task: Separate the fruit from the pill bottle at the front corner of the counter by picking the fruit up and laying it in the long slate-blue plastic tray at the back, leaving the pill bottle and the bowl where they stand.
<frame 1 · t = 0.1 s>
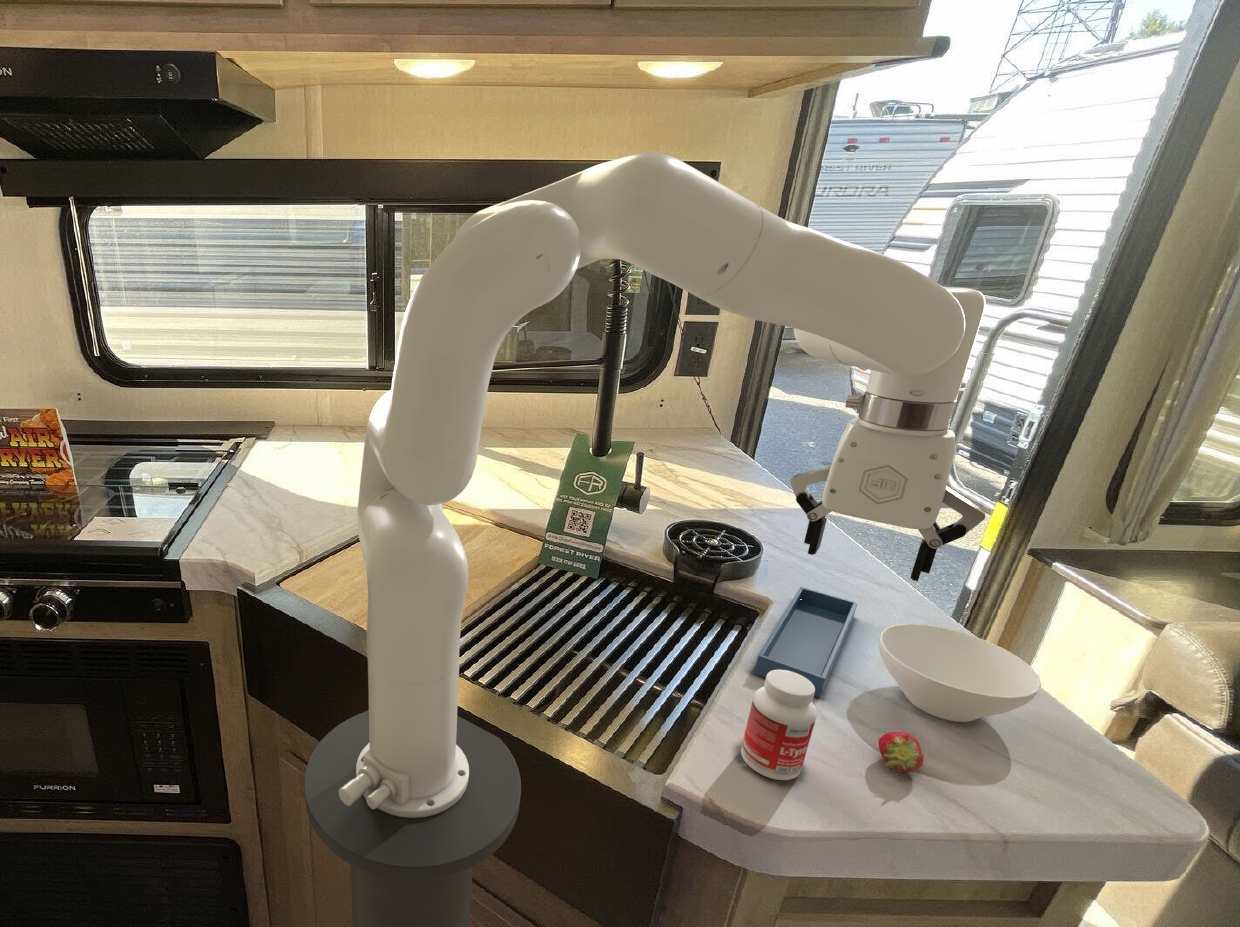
hand: (862, 563, 74), 22 cm above the worktop, tool pointing down, fingers open, 9 cm apart
bowl: (939, 704, 85), on the worktop
pill bottle: (769, 763, 75), on the worktop
fruit: (895, 766, 75), on the worktop
tray: (806, 644, 98), on the worktop
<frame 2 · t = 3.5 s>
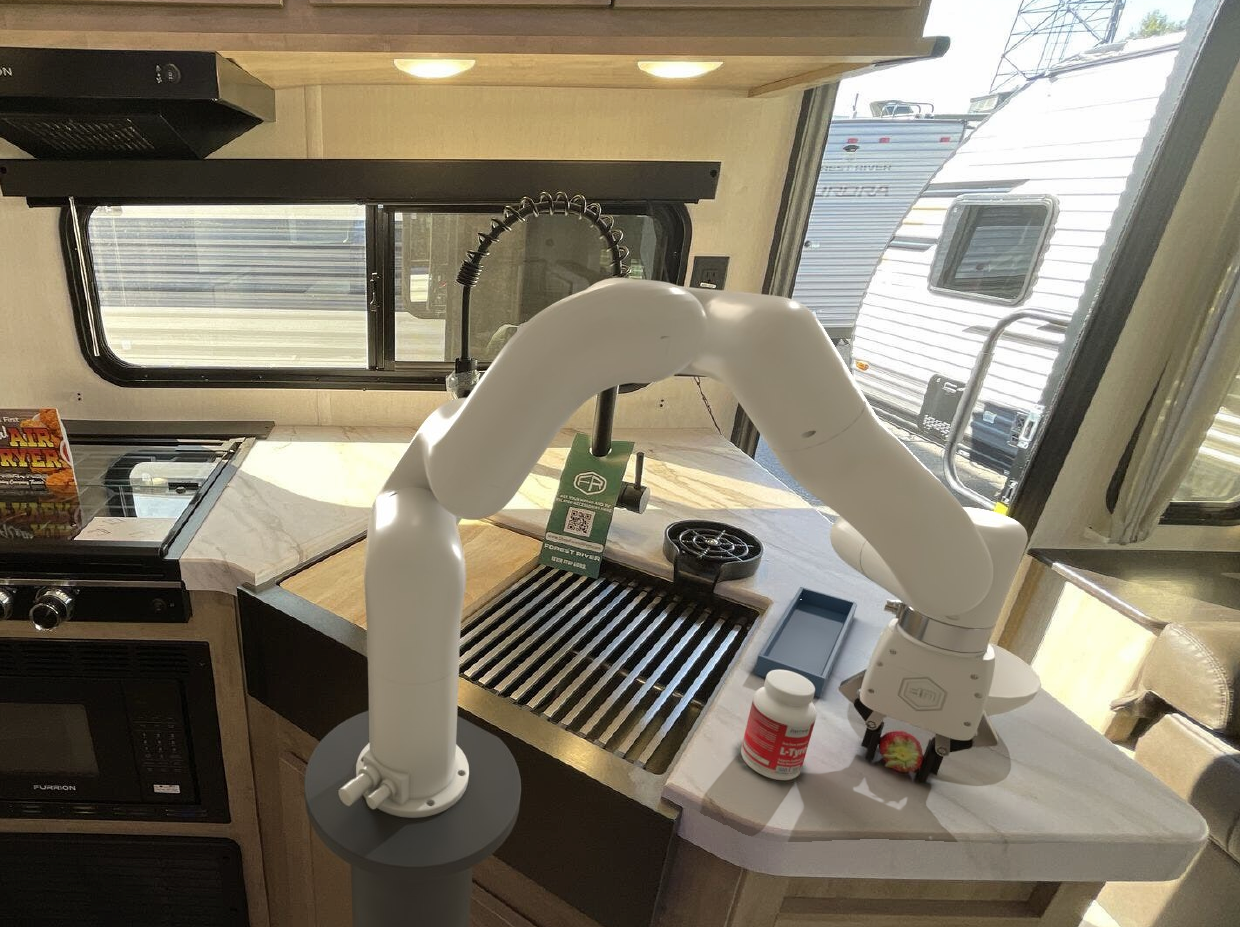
hand: (896, 762, 75), 0 cm above the worktop, tool pointing down, fingers closed on fruit, 4 cm apart
fruit: (895, 766, 75), on the worktop, touching gripper
everything else where it was.
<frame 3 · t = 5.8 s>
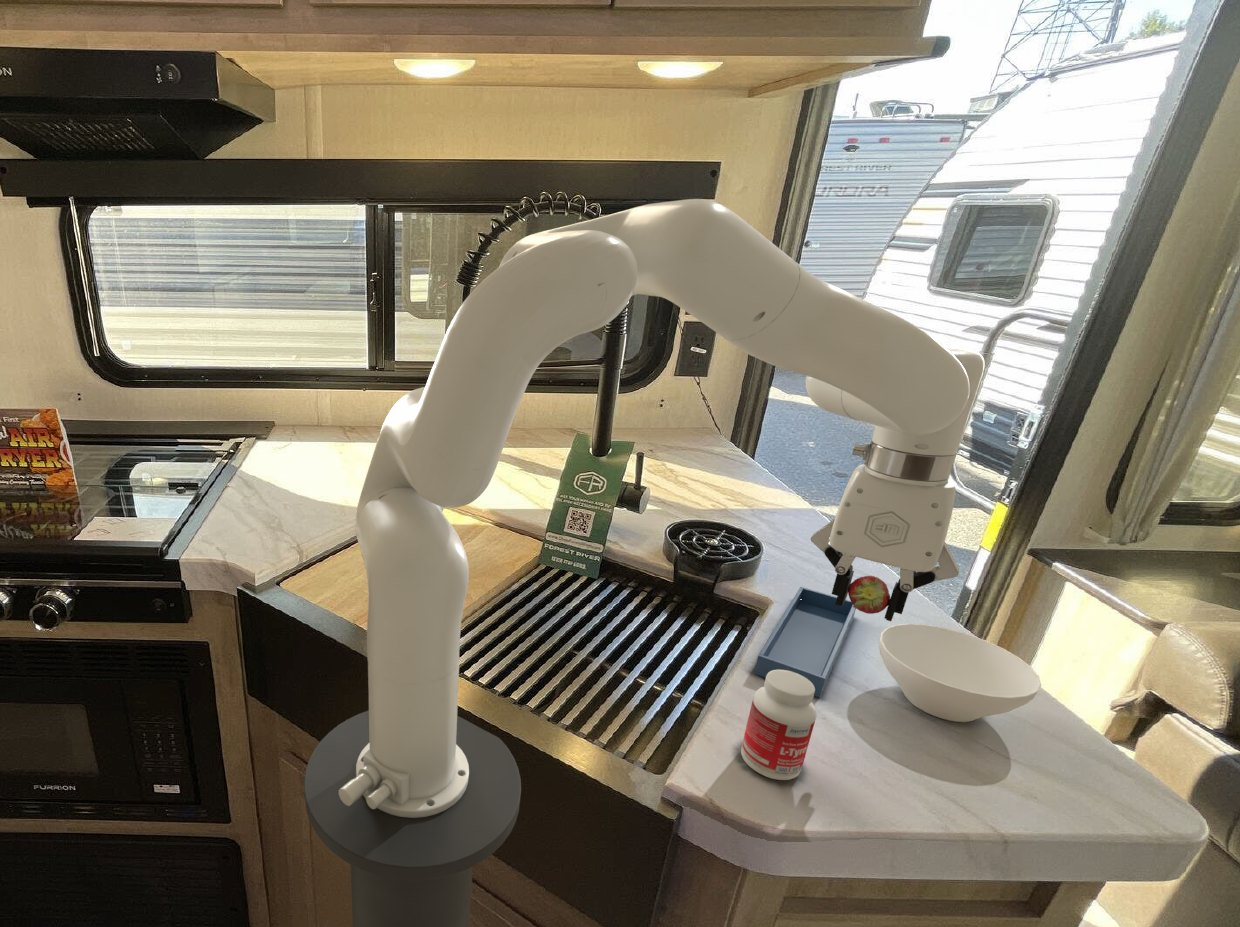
hand: (864, 607, 78), 15 cm above the worktop, tool pointing down, fingers closed on fruit, 4 cm apart
fruit: (863, 611, 79), point 15 cm above the worktop, touching gripper
everything else where it was.
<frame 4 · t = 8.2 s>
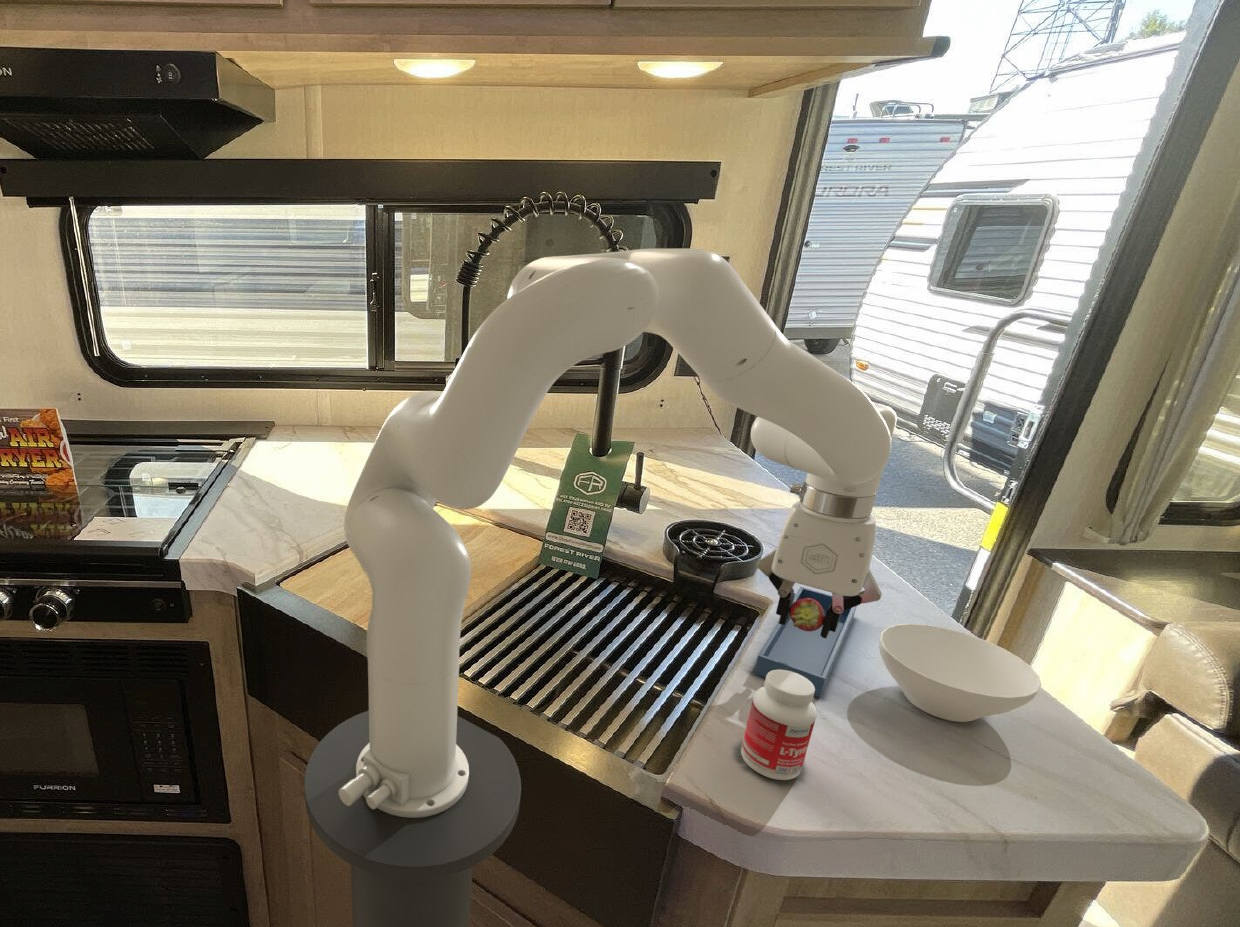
hand: (804, 625, 89), 7 cm above the worktop, tool pointing down, fingers closed on fruit, 4 cm apart
fruit: (803, 629, 89), point 7 cm above the worktop, touching gripper
everything else where it was.
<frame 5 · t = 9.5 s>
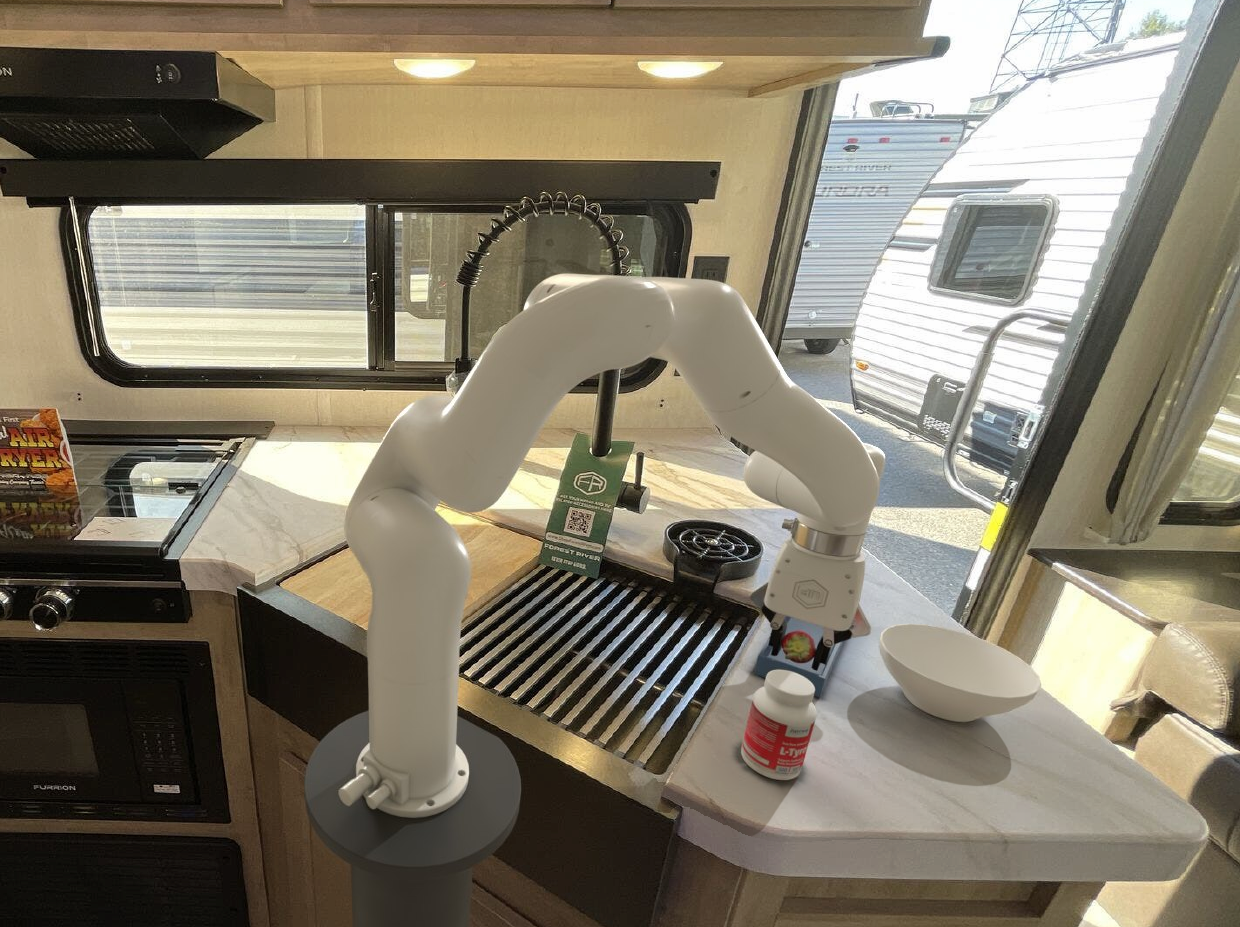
hand: (796, 657, 90), 2 cm above the worktop, tool pointing down, fingers closed on fruit, 4 cm apart
fruit: (795, 660, 91), point 2 cm above the worktop, touching gripper
everything else where it was.
when the fingers open (3 cm above the worktop, at t = 13.2 s): fruit drops 2 cm, resting on tray.
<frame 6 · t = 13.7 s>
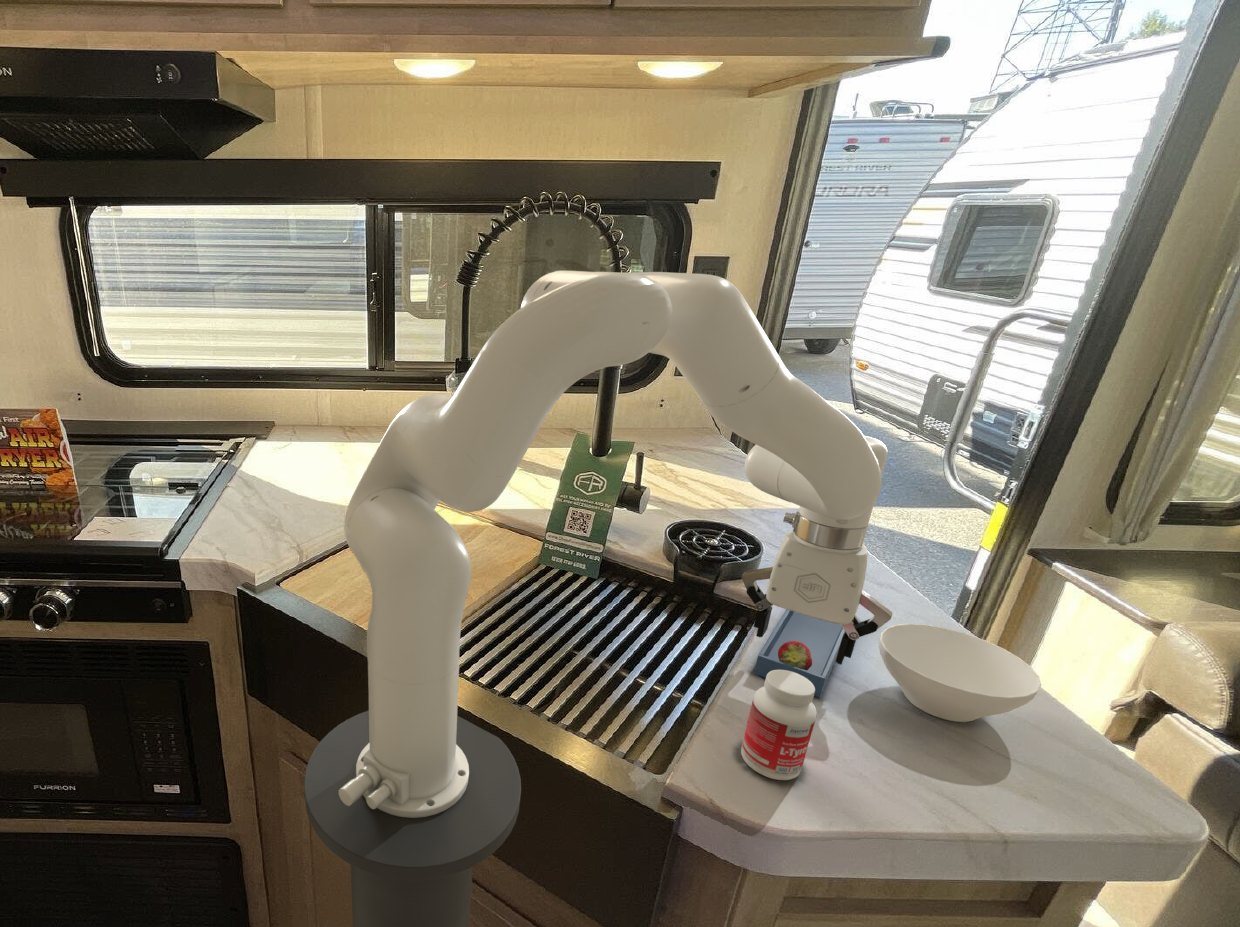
hand: (799, 645, 90), 4 cm above the worktop, tool pointing down, fingers open, 9 cm apart
fruit: (791, 670, 91), resting on tray
everything else where it was.
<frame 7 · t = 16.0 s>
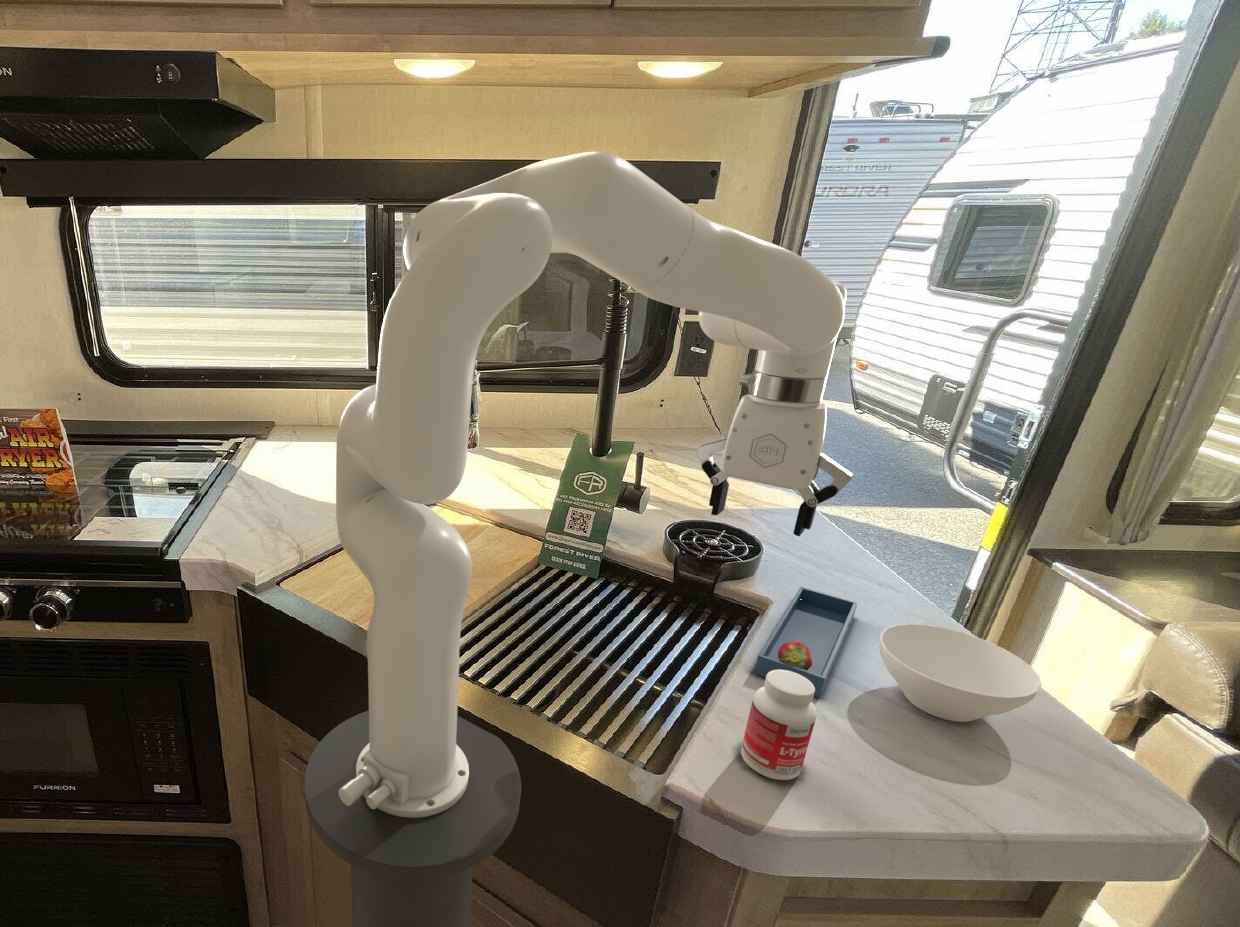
hand: (756, 522, 84), 22 cm above the worktop, tool pointing down, fingers open, 9 cm apart
nothing on the worktop moved.
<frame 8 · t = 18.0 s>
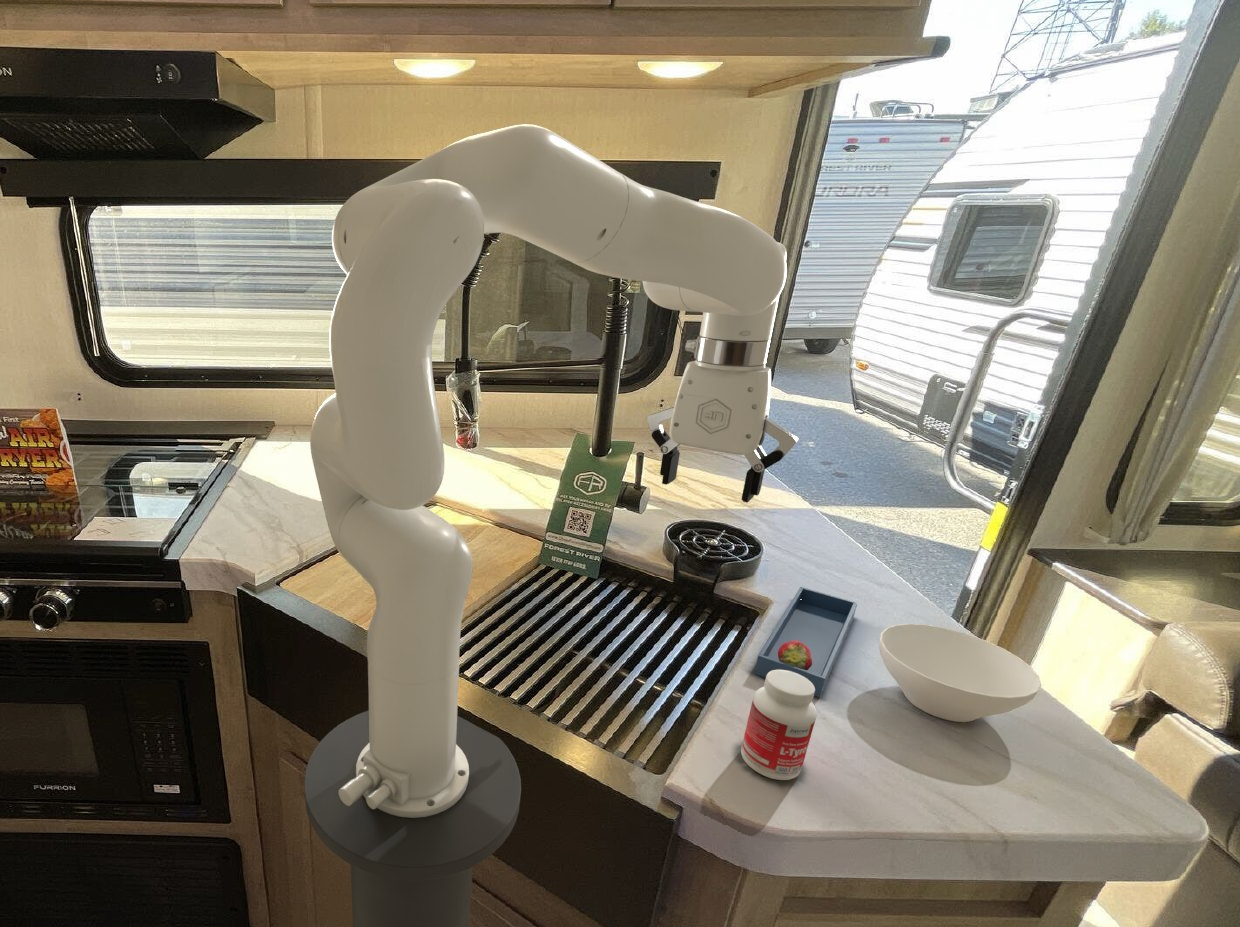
hand: (706, 490, 83), 26 cm above the worktop, tool pointing down, fingers open, 9 cm apart
nothing on the worktop moved.
at the end: fruit inside the target area in the tray (9.2 cm from its centre), point 0.3 cm above the tray's base; the gripper is holding nothing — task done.
